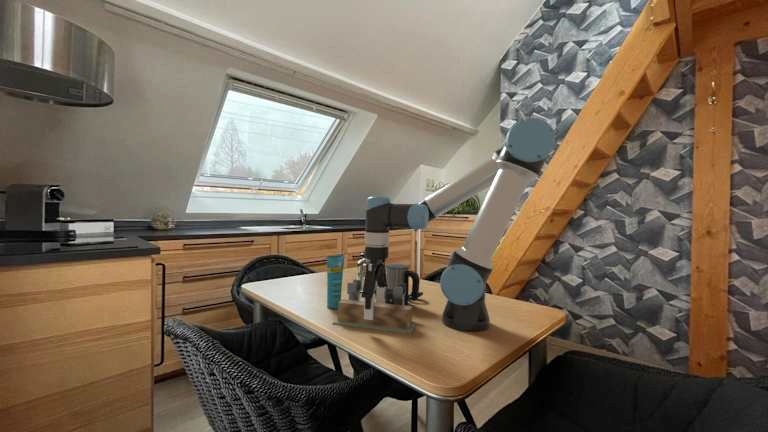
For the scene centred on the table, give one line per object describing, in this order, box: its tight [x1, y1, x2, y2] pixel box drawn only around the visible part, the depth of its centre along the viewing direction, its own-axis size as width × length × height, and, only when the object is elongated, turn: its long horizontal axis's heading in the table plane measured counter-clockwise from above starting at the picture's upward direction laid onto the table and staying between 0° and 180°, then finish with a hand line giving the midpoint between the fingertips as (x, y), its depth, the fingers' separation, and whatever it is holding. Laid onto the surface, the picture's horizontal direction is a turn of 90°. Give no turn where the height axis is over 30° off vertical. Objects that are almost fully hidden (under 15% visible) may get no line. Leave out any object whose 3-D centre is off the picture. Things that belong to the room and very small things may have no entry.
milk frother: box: [384, 263, 424, 306], centre depth 134 cm, size 14×16×15 cm
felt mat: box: [332, 318, 416, 334], centre depth 107 cm, size 25×8×1 cm, turn 76°
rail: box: [337, 298, 413, 329], centre depth 107 cm, size 23×4×6 cm, turn 76°
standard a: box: [393, 283, 406, 305], centre depth 114 cm, size 6×6×11 cm
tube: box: [326, 254, 346, 309], centre depth 124 cm, size 7×5×19 cm, turn 134°
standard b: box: [346, 278, 363, 301], centre depth 118 cm, size 6×6×11 cm
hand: (374, 312), depth 107 cm, fingers open, 13 cm apart
